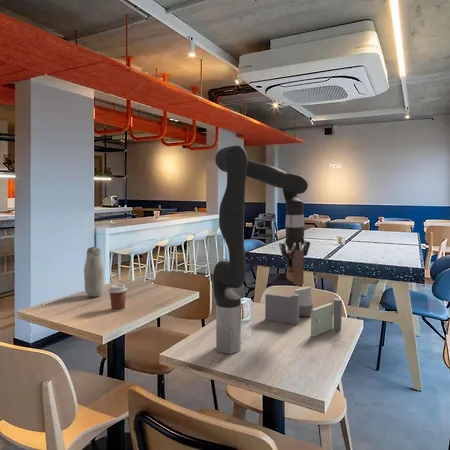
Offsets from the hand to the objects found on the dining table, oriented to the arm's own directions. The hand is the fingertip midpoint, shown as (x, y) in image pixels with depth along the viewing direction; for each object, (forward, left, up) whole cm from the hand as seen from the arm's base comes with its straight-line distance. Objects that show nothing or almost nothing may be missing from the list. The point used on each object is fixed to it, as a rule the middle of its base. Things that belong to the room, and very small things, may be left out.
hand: (294, 266), depth 159 cm
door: (+4, -12, -28) cm, 30 cm away
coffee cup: (-3, +88, -28) cm, 93 cm away
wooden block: (0, 0, -7) cm, 7 cm away
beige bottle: (+11, +115, -28) cm, 119 cm away
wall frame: (+11, -1, -28) cm, 30 cm away
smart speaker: (+24, +1, -28) cm, 37 cm away
